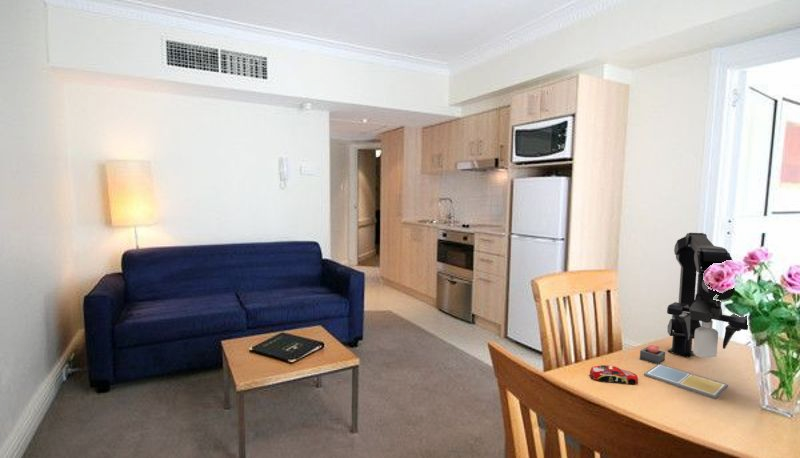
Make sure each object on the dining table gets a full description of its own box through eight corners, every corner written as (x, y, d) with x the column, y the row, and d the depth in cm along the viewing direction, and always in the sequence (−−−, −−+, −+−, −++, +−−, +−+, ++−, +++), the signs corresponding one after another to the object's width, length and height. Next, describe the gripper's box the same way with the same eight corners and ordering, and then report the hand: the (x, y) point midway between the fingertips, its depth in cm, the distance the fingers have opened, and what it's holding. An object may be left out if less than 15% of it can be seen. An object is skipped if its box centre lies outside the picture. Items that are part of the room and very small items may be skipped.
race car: (634, 378, 122) (635, 366, 121) (641, 387, 116) (641, 374, 116) (588, 373, 125) (588, 361, 124) (592, 381, 119) (593, 369, 119)
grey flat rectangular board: (658, 365, 130) (658, 363, 130) (727, 386, 116) (728, 384, 116) (643, 375, 123) (643, 373, 123) (715, 399, 109) (715, 396, 109)
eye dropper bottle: (691, 350, 119) (694, 311, 117) (715, 355, 116) (718, 315, 115) (693, 356, 115) (696, 315, 114) (718, 360, 112) (721, 319, 111)
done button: (649, 349, 136) (649, 344, 136) (659, 352, 134) (660, 347, 134) (645, 352, 134) (645, 346, 134) (656, 355, 132) (656, 349, 132)
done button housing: (646, 355, 138) (646, 346, 138) (664, 360, 134) (665, 351, 134) (639, 359, 135) (640, 350, 135) (658, 364, 130) (658, 356, 130)
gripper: (661, 289, 116) (658, 340, 117) (744, 303, 101) (739, 361, 103) (675, 283, 123) (672, 332, 124) (754, 296, 108) (749, 351, 110)
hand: (705, 343), depth 115 cm, fingers closed on eye dropper bottle, 8 cm apart
